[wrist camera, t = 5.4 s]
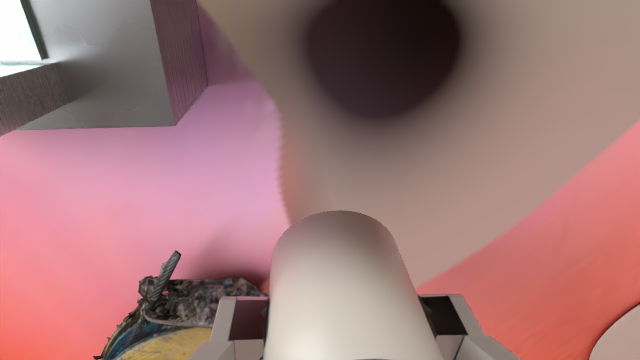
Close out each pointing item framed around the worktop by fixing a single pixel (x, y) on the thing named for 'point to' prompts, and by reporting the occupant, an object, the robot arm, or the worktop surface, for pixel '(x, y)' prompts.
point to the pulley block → (172, 316)
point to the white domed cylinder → (343, 294)
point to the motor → (98, 63)
